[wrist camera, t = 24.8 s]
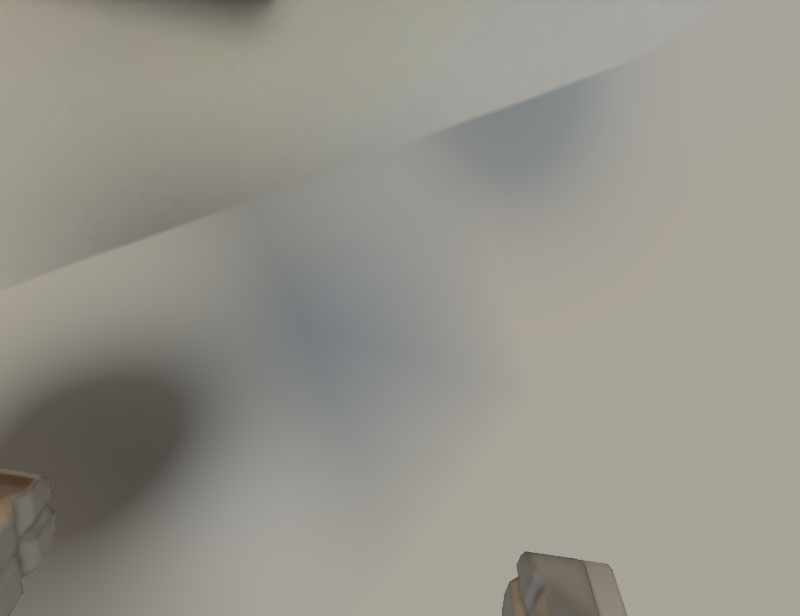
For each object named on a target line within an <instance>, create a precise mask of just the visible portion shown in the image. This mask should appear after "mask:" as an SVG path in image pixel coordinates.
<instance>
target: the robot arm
mask: <svg viewBox="0 0 800 616" xmlns="http://www.w3.org/2000/svg"><path fill="white" fill-rule="evenodd" d="M52 494H53V487H52V479H51V478H50V477H47V476H42V475H37V474H32V473H26V472H21V471H15V470H10V469H4V468H0V616H9V615H10V614H11V612H12V611H13V609H14V607H15V606H16V604H17V603H18V601H19V599H20V598H21V596H22V595H23V593H24V592H23V584H22V578H24V577H26V576H27V575H28V574H30V573H32V572H34V571H35V570H37V569H38V568H39V566H40V565H41V563H42V561H43V560H44V558H45V556H46V554H47V552H48V550H49V547H50V544H51V542H52V539H53V536H54V530H55V523H56V521H55V511H54V510H53V509H52V508H51V507H50V506H49V505H48V504H47V501H48V500H49V498H50V497H51V495H52ZM517 571H518V577H517V578H515V579H514V580H512V581H510V582H509V584H508V587H507V589H506V592H505V595H504V601H503V607H502V616H627V613H626V610H625V607H624V604H623V601H622V598H621V595H620V592H619V589H618V586H617V582H616V579H615V577H614V574H613V570H612V569H611V567H610V566H609V565H608V564H603V563H597V562H591V561H584V560H578V559H573V558H567V557H560V556H553V555H546V554H539V553H532V552H525V553H523V554H522V555H521V557H520V559H519V561H518V563H517Z"/></svg>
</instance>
